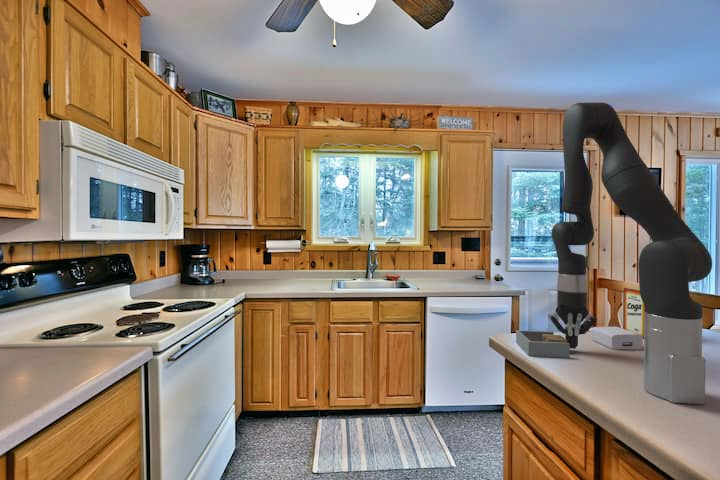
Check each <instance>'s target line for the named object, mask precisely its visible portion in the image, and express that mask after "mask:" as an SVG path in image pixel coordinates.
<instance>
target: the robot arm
mask: <svg viewBox="0 0 720 480" xmlns="http://www.w3.org/2000/svg"><path fill="white" fill-rule="evenodd" d="M561 130H562V148H563V162H564V165H563V167H564V182H563V185H564V186H563V191H562V198H561V201H562V202H561V210H562V212H563V213H565V214H567V215H574V216H576V221H559V222H556V223H555V224H554V225H553V226H552V228H551V239H552V242H553V245H554V248H555V251H556V256H557V263H558V264H557V265H558V267H557V269H558V270H557V271H558V272H557V273H558V276H557V283H556V291H557V292H556V297H557V298H556V301H557V302H556V305H557V306H556V308H555V311H554V312H553V313H552V314H548V315H547V317H548V319H549V321H550V322H551V323H552V324H553V325H554V326H555V328H556V329H557V331H558V332H560V333H562V334H563V335H565V337H564V338H565V339H566V340H567V343H569V344H570V349H574V350H575V349H576V348H577V347H578V346H579V336H580V335H586V333H588V332H589V329H590V328H593V327H594V325H595V323H597V318H596V317H594V316H592V315H591V314H590V313H589V309H588V279H587V258H586V256H585V255H583V254H580V253H576V252H573V251H572V250H571V248H570V246H587V245H589V244H590V243H591V242H592V241H593V239H594V236H595V229H594V225H593V219H592V210H591V209H592V208H591V206H592V205H591V204H592V198H593V191H594V189H593V188H594V185H593V177H592V175H591V172H590V170H589V167H588V165H587V162H586V157H585V155H584V154H585V153H584V146H585V145H584V144H585V139H592V140H593V141H594V142H595V143H596V145H598V148H599V150H601V151H600V152H601V153H602V156H603V159H602V160H603V161H602V166H601V173H600V177H601V182H602V184H603V187H604V188H605V190H606V192H607V193H608V196H609V197H610V199H611V200H612V202H613V203H614V204H615V206H617V208H619V210H621V211H622V212H623V213H624V214H626V215H627V217H629V218H631V219H632V220H633V221H634V222H636V223H637V224H638V225H639V226H640V227H641V228H642V229H643V230H644V231H645V232H646V233H647V235H648V236H649V238H650V240H651V241H652V242H649V243H648V244H646V245H645V246H644V247H643V248H642V249H641V251H640V254H639V257H638V285H639V287H638V288H640V296H641V299H642V301H643V303H644V311H645V315H644V339H643V388H644V390H645V391H646V392H648V393H650V394H651V395H652V396H656V397H658V398H660V399H664V400H667V401H669V402H670V403H673V404H674V403H675V404H693V405H706V360H707V359H706V358H705V357H703V313H704V312H703V310H704V309H703V306H702V304H701V303H699V302H697V301H696V300H694V299H693V298H692V297H691V294H690V285H689V283H695V282H698V281H702V280H704V279H705V278H707V277H708V276H709V275H710V273H711V271H712V268H713V258H712V256H711V254H710V252H709V250H708V249H707V247H706V246H705V245H704V243H703V242H702V241H701V240H700V238H699V237H698V236H697V235H696V234H695V233H694V232H693V231H692V229H691V228H690V227H689V226H688V225H687V223H686V222H685V221H684V220H683V219H682V217H681V216H680V214H679V213H678V212H677V211H676V209H675V207H674V206H673V204H672V203H671V201H670V199H669V198H668V196H667V195H666V194H665V192H664V191H663V189H662V188H661V186H660V185H659V183H658V181H657V179H656V178H655V176H654V175H653V172H652V171H651V170H650V168H649V167H648V166H647V164H646V163H645V161H643V159H642V157H641V156H640V154H639V152H638V150H637V149H636V148H635V146H634V144H633V142H632V141H631V140H630V138H629V135H628V134H627V132H626V130H625V128H624V126H623V123H622V121H621V119H620V117H619V115H618V113H617V111H616V110H615V108H614V107H613V106H612V105H611V104H609V103H607V102H599V101H598V102H577V103H574V104H572V105H570V107H568V109H567V110H566V112H565V114H564V116H563V120H562V129H561ZM559 320H561V321H562V323H563V325H562V324H561V323H560V321H559Z"/></svg>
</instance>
